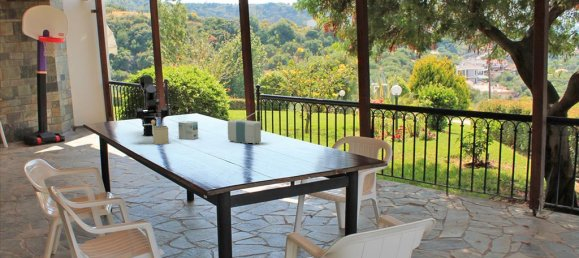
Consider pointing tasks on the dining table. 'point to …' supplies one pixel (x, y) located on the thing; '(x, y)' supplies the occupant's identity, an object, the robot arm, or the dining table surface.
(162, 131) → the kraft carton
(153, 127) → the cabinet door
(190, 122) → the light bulb box
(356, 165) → the dining table surface
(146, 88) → the robot arm
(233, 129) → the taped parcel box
